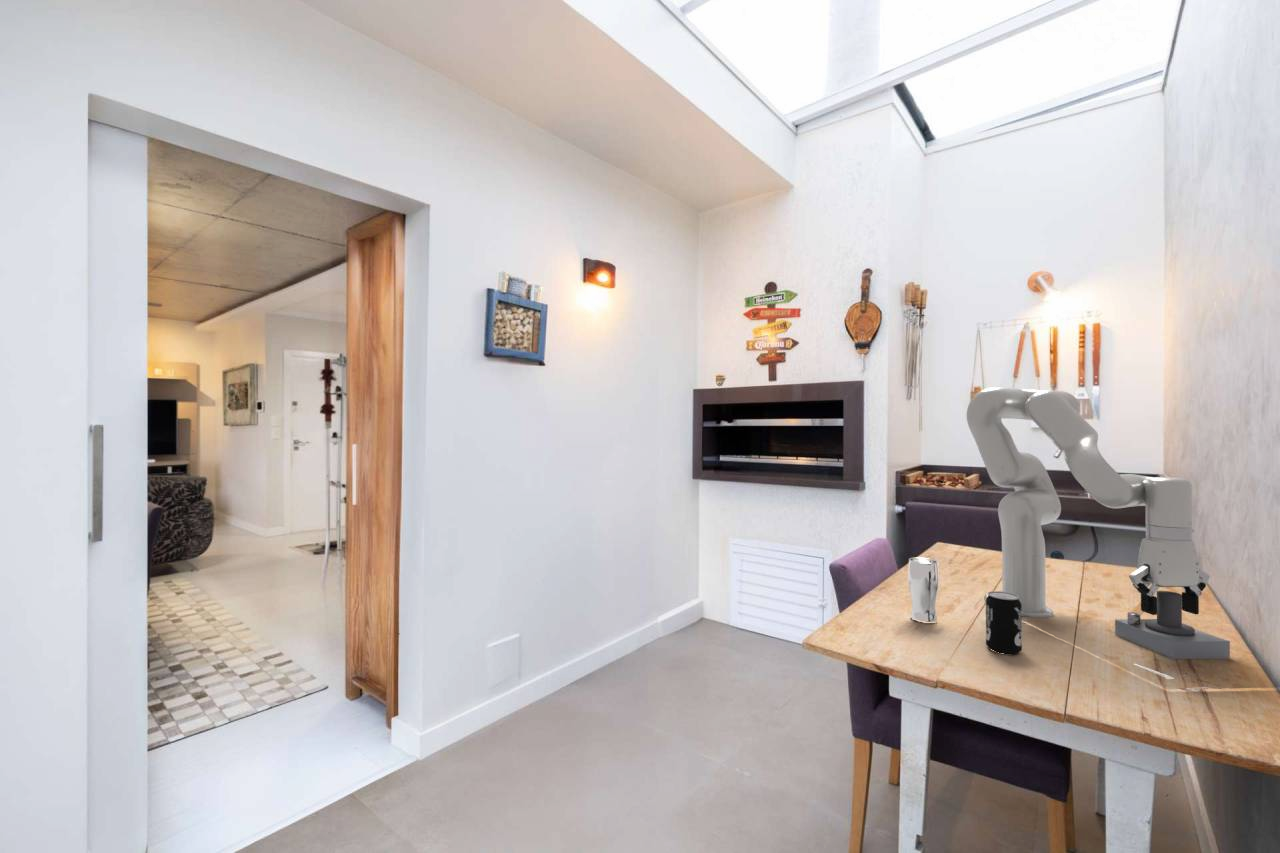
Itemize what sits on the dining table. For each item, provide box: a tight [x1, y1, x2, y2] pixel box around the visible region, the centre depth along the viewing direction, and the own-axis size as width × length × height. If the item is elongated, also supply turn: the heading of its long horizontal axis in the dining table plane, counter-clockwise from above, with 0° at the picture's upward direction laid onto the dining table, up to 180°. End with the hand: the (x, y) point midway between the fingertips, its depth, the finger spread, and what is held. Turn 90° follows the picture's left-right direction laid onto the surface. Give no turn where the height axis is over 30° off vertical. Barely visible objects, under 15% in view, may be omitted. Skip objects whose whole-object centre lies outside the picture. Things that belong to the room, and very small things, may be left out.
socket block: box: [1114, 618, 1231, 660], centre depth 125 cm, size 12×14×4 cm
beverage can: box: [985, 590, 1023, 656], centre depth 124 cm, size 7×7×12 cm
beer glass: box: [907, 557, 940, 622], centre depth 144 cm, size 7×7×15 cm
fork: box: [1133, 663, 1211, 691], centre depth 113 cm, size 3×20×2 cm, turn 7°
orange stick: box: [1126, 601, 1145, 625], centre depth 134 cm, size 20×2×2 cm, turn 131°
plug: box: [1145, 590, 1196, 636], centre depth 125 cm, size 8×8×12 cm
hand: (1169, 612), depth 125 cm, fingers open, 8 cm apart
